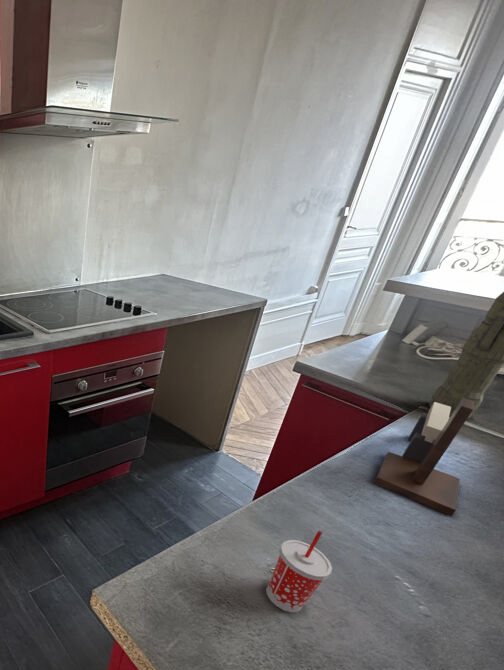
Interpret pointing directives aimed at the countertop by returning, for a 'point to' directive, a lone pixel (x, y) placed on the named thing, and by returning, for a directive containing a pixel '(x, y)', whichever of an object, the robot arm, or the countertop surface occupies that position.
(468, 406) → the headphone stand
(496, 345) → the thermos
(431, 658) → the countertop surface
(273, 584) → the beverage cup
